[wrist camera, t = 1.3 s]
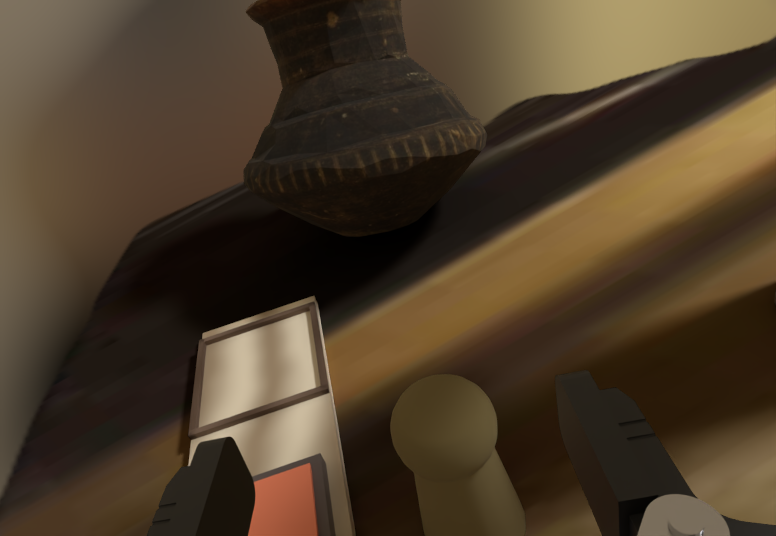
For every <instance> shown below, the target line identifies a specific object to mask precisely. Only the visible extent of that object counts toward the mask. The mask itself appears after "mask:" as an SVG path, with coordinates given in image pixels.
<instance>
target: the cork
mask: <svg viewBox="0 0 776 536" xmlns="http://www.w3.org/2000/svg"><path fill="white" fill-rule="evenodd" d="M390 431H391V436H392V441H393V445H394V448H395V450H396V452H397V454H398V455H399V457H400V458H401V460H402V461H403V463H404V464H405V465H406V466H407V467H408V468H409V469H410V470H412V471H413V472H414V477H415V483H416V489H417V495H418V501H419V507H420V513H421V519H422V525H423V530H424V535H425V536H524V535H525V532H526V521H525V512H524V510H523V507H522V505H521V502H520V500H519V498H518V495H517V493H516V491H515V489H514V487H513V485H512V483H511V481H510V479H509V476H508V474H507V472H506V470H505V468H504V466H503V464H502V462H501V460H500V458H499V455H498V453H497V451H496V449H495V444H496V440H497V417H496V413H495V410H494V408H493V406H492V403H491V401H490V399H489V398H488V396H487V395H486V394H485V393H484V392H483V391H482V389H481V388H480V387H479V386H478V385H476V384H474V383H472V382H471V381H469V380H467V379H465V378H463V377H461V376H456V375H451V374H438V375H432V376H429V377H426V378H422V379H420V380H419V381H417V382H415V383H414V384H412V385H410V386H409V387H408V388H407V389H406V390H405V391H404V392H403V393H402V394H401V396H400V398H399V400H398V402H397V404H396V405H395V407H394V409H393V411H392V417H391V423H390Z"/></svg>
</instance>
